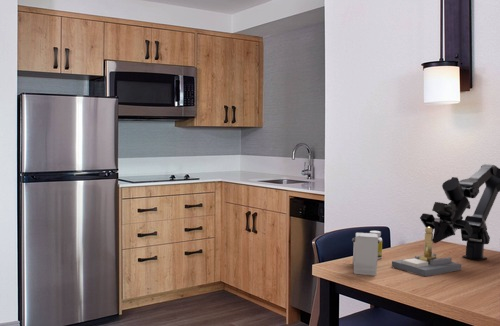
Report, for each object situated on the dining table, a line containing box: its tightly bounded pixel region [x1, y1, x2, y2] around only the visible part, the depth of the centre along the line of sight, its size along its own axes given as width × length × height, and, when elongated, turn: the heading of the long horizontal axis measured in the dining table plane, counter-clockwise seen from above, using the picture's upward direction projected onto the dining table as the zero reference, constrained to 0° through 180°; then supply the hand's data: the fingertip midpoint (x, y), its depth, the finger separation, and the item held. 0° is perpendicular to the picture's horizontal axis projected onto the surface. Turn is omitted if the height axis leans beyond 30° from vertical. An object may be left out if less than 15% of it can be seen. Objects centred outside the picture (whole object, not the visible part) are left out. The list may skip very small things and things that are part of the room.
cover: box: [401, 257, 428, 267], centre depth 185 cm, size 6×6×1 cm
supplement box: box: [353, 232, 378, 277], centre depth 180 cm, size 7×7×13 cm
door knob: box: [418, 227, 437, 263], centre depth 188 cm, size 5×3×12 cm, turn 124°
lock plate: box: [391, 252, 462, 277], centre depth 188 cm, size 19×14×4 cm
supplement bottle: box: [369, 230, 383, 260], centre depth 202 cm, size 5×5×10 cm
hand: (433, 242), depth 190 cm, fingers closed
